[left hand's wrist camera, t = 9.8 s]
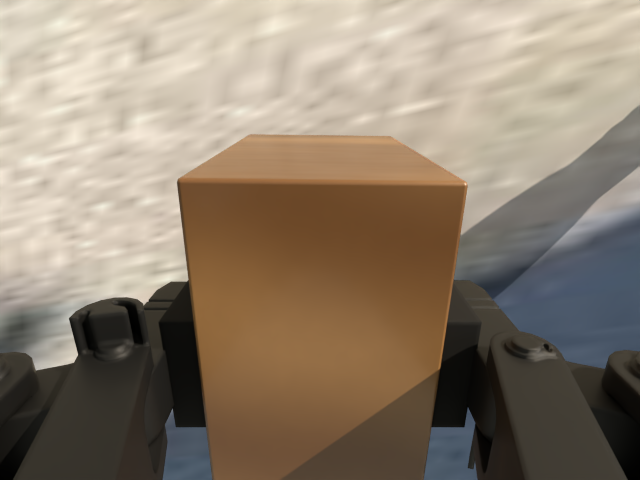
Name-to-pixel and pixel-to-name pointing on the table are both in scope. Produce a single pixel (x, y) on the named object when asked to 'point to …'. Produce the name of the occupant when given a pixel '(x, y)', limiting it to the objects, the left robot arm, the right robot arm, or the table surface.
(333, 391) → the beam
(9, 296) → the table surface
